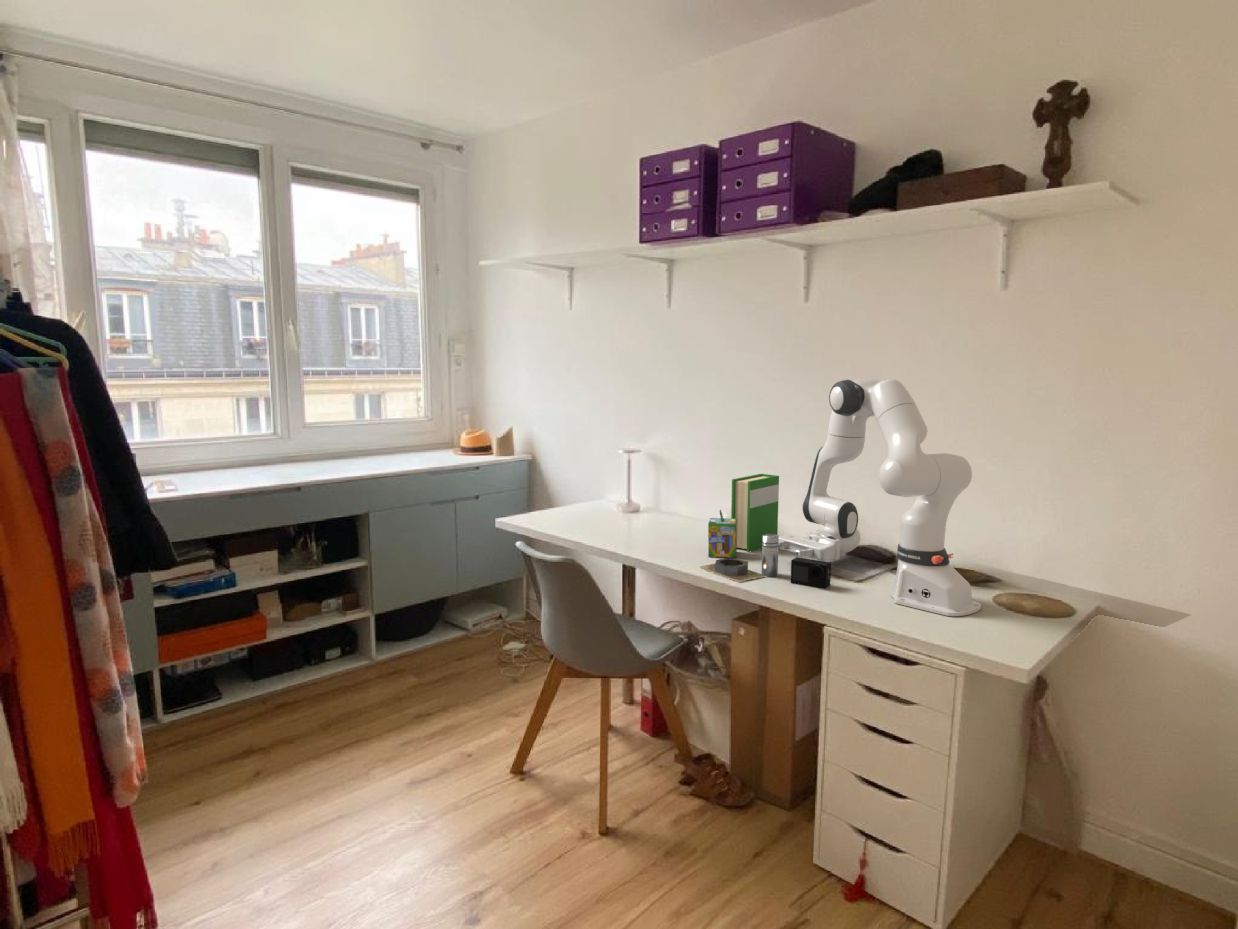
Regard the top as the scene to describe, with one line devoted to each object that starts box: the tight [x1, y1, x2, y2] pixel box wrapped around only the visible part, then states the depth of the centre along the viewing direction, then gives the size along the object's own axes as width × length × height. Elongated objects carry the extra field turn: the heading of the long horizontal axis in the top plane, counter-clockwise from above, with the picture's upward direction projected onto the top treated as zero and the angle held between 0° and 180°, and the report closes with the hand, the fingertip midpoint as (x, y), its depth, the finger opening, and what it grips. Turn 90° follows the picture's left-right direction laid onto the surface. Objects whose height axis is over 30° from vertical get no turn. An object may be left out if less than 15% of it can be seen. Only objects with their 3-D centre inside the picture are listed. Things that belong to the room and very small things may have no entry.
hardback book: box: [730, 473, 780, 553], centre depth 254 cm, size 18×7×24 cm, turn 136°
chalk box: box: [707, 509, 738, 559], centre depth 243 cm, size 9×9×15 cm
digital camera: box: [790, 556, 832, 590], centre depth 209 cm, size 10×5×7 cm, turn 56°
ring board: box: [699, 557, 765, 583], centre depth 222 cm, size 18×10×3 cm, turn 33°
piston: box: [760, 534, 780, 578], centre depth 219 cm, size 5×5×12 cm
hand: (786, 550), depth 222 cm, fingers open, 8 cm apart
